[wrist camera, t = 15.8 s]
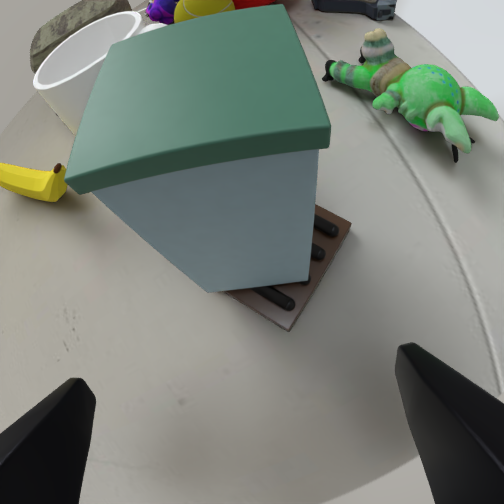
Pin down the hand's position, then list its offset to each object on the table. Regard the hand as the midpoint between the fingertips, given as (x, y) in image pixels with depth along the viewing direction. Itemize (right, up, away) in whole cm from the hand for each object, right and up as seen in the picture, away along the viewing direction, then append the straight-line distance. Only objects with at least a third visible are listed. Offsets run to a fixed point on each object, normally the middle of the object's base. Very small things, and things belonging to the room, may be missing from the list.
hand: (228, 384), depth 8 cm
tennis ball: (-6, +27, +19) cm, 34 cm away
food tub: (+1, +4, +12) cm, 13 cm away
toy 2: (+9, +23, +17) cm, 30 cm away
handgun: (+10, +42, +25) cm, 50 cm away
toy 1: (-9, +46, +24) cm, 52 cm away
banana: (-21, +10, +19) cm, 30 cm away
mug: (-10, +16, +20) cm, 27 cm away
